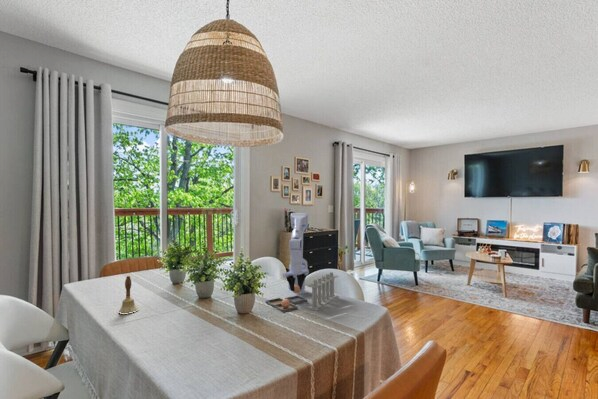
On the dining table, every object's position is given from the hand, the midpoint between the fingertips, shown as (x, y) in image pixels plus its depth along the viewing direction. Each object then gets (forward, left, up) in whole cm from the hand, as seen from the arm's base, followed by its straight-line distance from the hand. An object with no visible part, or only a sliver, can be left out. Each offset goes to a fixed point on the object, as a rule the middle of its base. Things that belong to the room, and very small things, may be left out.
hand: (296, 289), depth 155 cm
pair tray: (+2, -10, -6) cm, 12 cm away
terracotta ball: (0, 0, -2) cm, 2 cm away
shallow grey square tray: (0, 0, -6) cm, 6 cm away
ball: (+6, -10, -5) cm, 13 cm away
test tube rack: (+9, +10, -6) cm, 15 cm away
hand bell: (-33, -70, -6) cm, 78 cm away
